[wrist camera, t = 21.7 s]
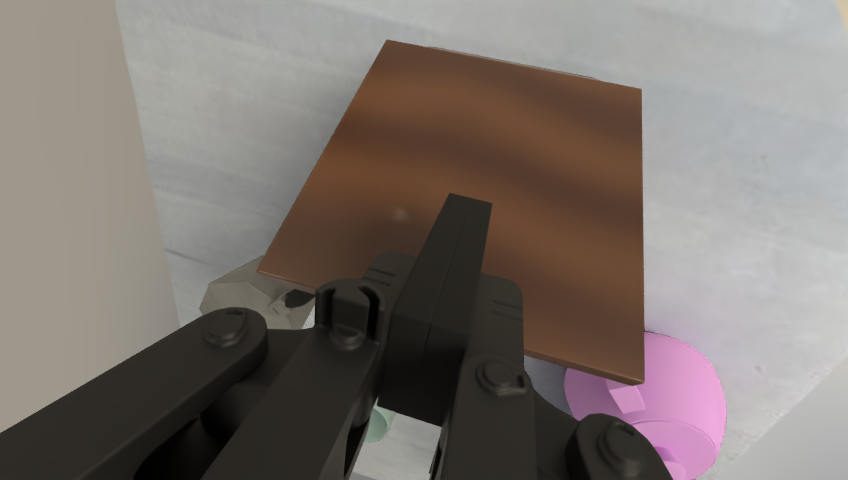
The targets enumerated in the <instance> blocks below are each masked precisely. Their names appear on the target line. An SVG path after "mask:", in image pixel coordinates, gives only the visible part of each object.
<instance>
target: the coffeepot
mask: <svg viewBox="0 0 848 480" xmlns="http://www.w3.org/2000/svg"><path fill="white" fill-rule="evenodd" d="M264 256H265V255H262V256H260V257H258V258H256V259H255V260H253V261H251V262H249V263H247V264H245V265H243V266H241V267H240V268H238V269H236V270H234V271H232V272H230V273H228V274H226V275H225V276H223V277H221V278H219V279H217V280H215V281H213V282H211V283H210V284H209V286H208V288H207V291H206V293H205V296H204V298H203V301H202V303H201V305H200V308H199V309H200V311H201V312H202V314H203V315H205V314H207V313H210V312H212V311H214V310H218V309H223V308H228V307H245V308H249V309H251V310H254V311H257V312H258V313H260V314H261V315H262V316H263V317H264V318H265V321H266V324H267V329H289V330H298V329H302V327H303V325H304V323H305V321H306V319H307V318H308V316H309V314H310V312H311V310H312V308H313V306H314V305H315V294H311V293H308V292H304V291H301V290H297V289H294V288H290V287H287V286H284V285H280V284H277V283H273V282H270V281H266V280H263V279H262V278H261V277H260V276H259V274H258V273H257V272H256V270H257V268H258V266H259V264H260V263H261V261H262V259H263V257H264Z"/></svg>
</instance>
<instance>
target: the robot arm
mask: <svg viewBox="0 0 848 480" xmlns="http://www.w3.org/2000/svg"><path fill="white" fill-rule="evenodd" d="M492 205H493V203H490V202H486V201H482V200H478V199H474V198H470V197H465V196H461V195H457V194H453V193H449V195H448V197H447V199H446V201H445V203H444V205H443V207H442V209H441V211H440V213H439V215H438V217H437V219H436V221H435V223H434V225H433V227H432V229H431V231H430V233H429V236H428V238H427V240H426V242H425V244H424V246H423V248H422V250H421V252H420V254H419V256H418V257H416V256H412V255H408V254H405V253H401V252H397V251H393V250H388V251H386V252H384V253H382V254H380V255H378V256H377V257H376V258H375V259H374V261H373V262H372V263H371V265H370V266H369V269H367V271H366V272H365V274H364V275H363V277H362V279H360V280H359V279H352V278H346V279H336V280H333V281H330V282H327V283H325V284H323V285H322V286H321V287H319V288H318V289H317V290H315V325H314V326H313V328H308V329H298V330H289V329H267V324H266V321H265V318H264V317H263V316H262V315H261V314H260V313H258V312H257V311H254V310H251V309H249V308H245V307H228V308H223V309H218V310H214V311H212V312H210V313H207V314H205V315H203V316H201V317H199V318H197V319H196V320H194V321H192V322H190V323H189V324H187V325H185V326H184V327H182V328H180V329H178V330H177V331H175V332H173V333H172V334H170V335H168V336H167V337H165V338H163V339H161V340H160V341H158V342H156V343H154V344H153V345H151V346H149V347H147V348H146V349H144V350H142V351H141V352H139V353H137V354H136V355H134V356H132V357H130V358H129V359H127V360H125V361H123V362H122V363H120V364H118V365H117V366H115V367H113V368H112V369H110V370H108V371H106V372H105V373H103V374H101V375H99V376H98V377H96V378H94V379H93V380H91V381H89V382H87V383H86V384H84V385H82V386H80V387H79V388H77V389H76V390H74V391H72V392H70V393H69V394H67V395H65V396H63V397H62V398H60V399H58V400H56V401H55V402H53V403H51V404H50V405H48V406H46V407H45V408H43V409H41V410H39V411H38V412H36V413H34V414H32V415H31V416H29V417H27V418H26V419H24V420H22V421H20V422H19V423H17V424H15V425H14V426H12V427H10V428H8V429H7V430H5V431H3V432H1V433H0V480H349V477H350V475H351V472H352V470H353V467H354V465H355V462H356V460H357V457H358V455H359V452H360V450H361V447H362V444H363V442H364V439H365V437H366V434H367V432H368V428H369V422H370V416H371V412H372V410H373V407H374V405H375V402H376V400H377V397H378V400H377V406H378V407H381V408H384V409H387V410H390V411H393V412H396V413H399V414H402V415H406V416H409V417H412V418H415V419H418V420H421V421H424V422H427V423H431V424H434V425H437V426H440V427H442V429H441V434H440V438H439V441H438V445H437V448H436V451H435V454H434V458H433V461H432V464H431V468H430V471H429V473H430V479H429V480H673V478H672V476H671V474H670V473H669V471H668V469H667V467H666V466H665V464H664V462H663V460H662V458H661V457H660V455H659V454H658V452H657V451H656V450H655V448H654V447H653V445H652V444H651V443H650V441H649V440H648V439H647V438H646V437H645V436H644V435H643V434H641V433H640V432H639V431H638V430H637V429H636V428H635V427H633V426H632V425H630V424H628V423H627V422H625V421H623V420H621V419H619V418H618V417H615V416H611V415H607V414H604V413H596V414H588V415H587V416H586V417H584V418H583V419H582V420H580V421H578V420H576V419H575V418H573V417H571V416H570V415H568V414H566V413H564V412H563V411H561V410H559V409H558V408H556V407H554V406H553V405H552V404H550V403H549V402H547V401H546V400H545V399H543V398H542V397H541V396H540V395H539V394H538V393H537V392H536V391H535V389H534V388H533V386H532V382H531V378H530V377H529V375H528V374H527V372H526V371H525V368H524V329H523V294H522V292H521V291H520V289H519V287H518V286H517V284H516V282H515V281H512V280H508V279H504V278H500V277H496V276H493V275H489V274H485V273H481V269H482V263H483V257H484V251H485V245H486V240H487V234H488V228H489V222H490V216H491V210H492Z"/></svg>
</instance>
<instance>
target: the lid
mask: <svg viewBox="0 0 848 480" xmlns="http://www.w3.org/2000/svg"><path fill="white" fill-rule="evenodd" d="M449 193H453V194H457V195H461V196H465V197H470V198H474V199H478V200H482V201H486V202H490V203H493V205H492V210H491V216H490V222H489V228H488V234H487V240H486V245H485V251H484V257H483V263H482V269H481V273H485V274H489V275H493V276H496V277H500V278H504V279H508V280H512V281H515V282H516V284H517V286H518V287H519V289H520V291H521V292H522V294H523V329H524V355H526V356H529V357H533V358H536V359H540V360H543V361H547V362H550V363H553V364H557V365H560V366H564V367H567V368H571V369H574V370H578V371H581V372H585V373H588V374H592V375H595V376H598V377H602V378H605V379H609V380H612V381H616V382H619V383H623V384H626V385H630V386H635V385H639V384H643V383H645V348H644V260H643V171H642V90H641V89H639V88H634V87H629V86H623V85H618V84H613V83H608V82H603V81H598V80H593V79H587V78H582V77H577V76H572V75H567V74H562V73H557V72H551V71H546V70H541V69H536V68H531V67H526V66H521V65H515V64H510V63H505V62H500V61H495V60H490V59H485V58H479V57H474V56H469V55H464V54H459V53H454V52H449V51H443V50H438V49H433V48H428V47H423V46H418V45H413V44H407V43H402V42H397V41H392V40H386V42H385V43H384V45H383V47H382V49H381V50H380V52H379V54H378V56H377V57H376V59H375V61H374V63H373V65H372V66H371V68H370V70H369V72H368V73H367V75H366V77H365V79H364V80H363V82H362V84H361V86H360V88H359V89H358V91H357V93H356V95H355V96H354V98H353V100H352V102H351V103H350V105H349V107H348V109H347V111H346V112H345V114H344V116H343V118H342V119H341V121H340V123H339V125H338V126H337V128H336V130H335V132H334V134H333V135H332V137H331V139H330V141H329V142H328V144H327V146H326V148H325V149H324V151H323V153H322V155H321V157H320V158H319V160H318V162H317V164H316V165H315V167H314V169H313V171H312V172H311V174H310V176H309V178H308V180H307V181H306V183H305V185H304V187H303V188H302V190H301V192H300V194H299V195H298V197H297V199H296V201H295V202H294V204H293V206H292V208H291V210H290V211H289V213H288V215H287V217H286V218H285V220H284V222H283V224H282V225H281V227H280V229H279V231H278V233H277V234H276V236H275V238H274V240H273V241H272V243H271V245H270V247H269V248H268V250H267V252H266V254H265V256H264V257H263V259H262V261H261V263H260V264H259V266H258V268H257V270H256V272H257V273H258V274H259V276H260V277H261V278H262V279H263V280H266V281H270V282H273V283H277V284H280V285H284V286H287V287H290V288H294V289H297V290H301V291H304V292H308V293H311V294H315V290H317V289H318V288H319V287H321V286H322V285H323V284H325V283H327V282H330V281H333V280H336V279H346V278H352V279H359V280H360V279H362V277H363V275H364V274H365V272H366V271H367V269H369V266H370V265H371V263H372V262H373V261H374V259H375V258H376V257H377V256H378V255H380V254H382V253H384V252H386V251H388V250H393V251H397V252H401V253H405V254H408V255H412V256H416V257H418V256H419V254H420V252H421V250H422V248H423V246H424V244H425V242H426V240H427V238H428V236H429V233H430V231H431V229H432V227H433V225H434V223H435V221H436V219H437V217H438V215H439V213H440V211H441V209H442V207H443V205H444V203H445V201H446V199H447V197H448V195H449Z"/></svg>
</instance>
